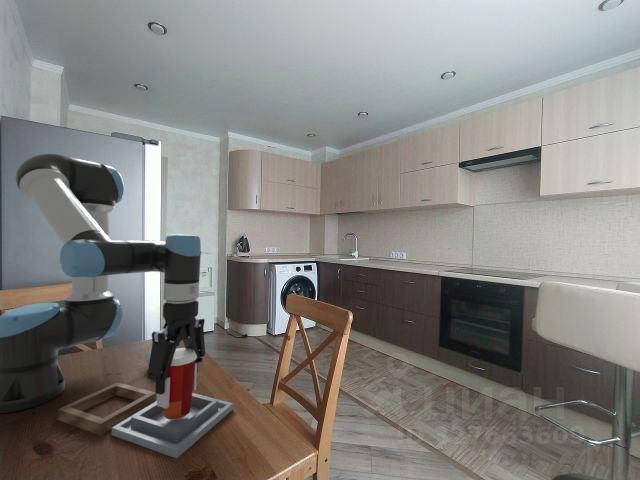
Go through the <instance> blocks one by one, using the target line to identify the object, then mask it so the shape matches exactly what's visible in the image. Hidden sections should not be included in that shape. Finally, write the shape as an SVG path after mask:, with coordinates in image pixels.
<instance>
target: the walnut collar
mask: <svg viewBox="0 0 640 480" xmlns="http://www.w3.org/2000/svg"><path fill="white" fill-rule="evenodd" d="M114 396H118V397H121V398H124V399H129V400H131V401H132V402H130V403H129V404H127V405H125V406H123V407H121V408H120V409H118V410H116V411H113V413H112V412H111V413H110V414H109V415H107V416H105V417H100V416H97V415H94V414H91V413H88V412H85V411H86V410H88V409H91V408H92V407H94V406H97V405H98V404H101V403H103V402H104V401H106V400H108V399H111V398H112V397H114ZM156 401H157V394H156V392H154V391H151V390H147V389H144V388H140V387H137V386H133V385H129V384H126V383H121V382H118V381H117V382H115V383H113V384H110V385H109V386H107V387H104V388H102V389H100V390H98V391H95V392H93V393H90V394H89V395H86V396H84V397H82V398H79V399H77V400H76V401H72V402H71V403H68V404H67V405H64V406H62V407H59V408H58V413H57V421H60V422H61V423H62V422H63V423H65V424H68V425H70V426H74V427H75V428H79V429H81V430H84V431H87V432H90V433H92V434H95V435H98V436H103V435H104V434H105V433H107V432H109V431H111V430H112V427H114V426H115V425H117V424H119V423H121V422H122V421H124V420H126V419H127V418H129V417H131V416H132V415H134V414H136V413H137V412H139V411H141V410H142V409H144V408H146V407H148V406H149V405H151V404H153V403H154V402H156Z"/></svg>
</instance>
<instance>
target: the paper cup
mask: <svg viewBox="0 0 640 480" xmlns="http://www.w3.org/2000/svg"><path fill="white" fill-rule="evenodd" d="M196 358H197V355H196V354H195V351H194V350H192V349H189V348H185V347H180V348H178V347H177V348H176V350H175V353H174V356H173V360H172V363H171V366H170V369H169V372H168V375H167V377H170V394H169V407H168V408H164V416H165V418H167V419H172V420H173V419H179V418H182V417H184V416H186V415H187V414H188V413H189V412H190V408H191V400H192V393H193V391H194V390H193V382H194V369H195V360H196Z"/></svg>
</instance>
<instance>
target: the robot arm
mask: <svg viewBox="0 0 640 480" xmlns="http://www.w3.org/2000/svg"><path fill="white" fill-rule="evenodd" d="M15 182H16V186H17V188H18V189H19V191H20V192H21V194H22V195H23V197H25V198H27V199H28V200H30V201H32V202H34V204H35V205H36V207H37V208H38V210H39V211H40V212H41V213H42V215H43V217H44V218H45V219H46V221H47V222H48V224H49V225H50V227H51V228H52V229H53V231H54V232H55V234H56V235H57V237H58V238H59V240H60V241H61V243H62V244H63V245H62V247H61V249H60V254H59V262H60V265H61V270H62V272H63V273H64V274H65V275H67V277H71V293H70V294H68V296H67V297H65V298H64V305H63V306H61V305H60V304H59V303H58V302H42V303H32V304H27V305H24V306H19V307H16V308H13V309H11V310H8V311H6V312H4V313H2V314H1V315H0V414H7V413H13V412H18V411H22V410H23V411H24V410H27V409H31V408H33V407H37V406H39V405H40V406H41V405H42V404H44V403H47V402H49V401H52V400H53V399H55V398H58V396H60V395H61V394H62V393H63V392H64V391H65V389H66V379H65V376H64V374H63V372H62V369H61V367H60V364H59V362H58V356H59V355H58V353H59V351H60V350H63V349H68V348H71V347H74V346H80V345H84V344H86V343H91V342H98V341H100V340H103V339H106V338H109V337H112V336H113V335H114V334H116V332H117V331H118V330H119V328H120V326H121V324H122V320H123V307H122V305H121V302H120V301H119V300H118V299H116V298H114V297H115V295H114V293H112V292H111V291H110V290H109V276H112V275H113V276H114V275H122V274H123V275H125V274H126V275H127V274H138V273H151V272H153V273H154V272H156V273H164V275H163V276H164V277H163V278H164V279H163V281H164V282H163V300H164V302H163V305H162V307H163V308H162V318H163V319H164V325H163V327H162V329H161V330H159V331H157V330H155V331H152V332H151V340H152V343H151V344H152V345H151V348H152V349H151V348H150V349H151V355H150V362H149V366H148V369H147V375H146V378H147V379H150V380H154V381H155V393H156V401H157V406H159V407H162V408H168V407H169V394H170V377H167V375H168V372H169V369H170V366H171V363H172V360H173V356H174V353H175V350H176V349H177V348H178V347H179V346H180V343H181V342H183V344H184V348H189V349H192V350H194V351H195V354H196V355H197V358H196V360H195V369H194V382H193V391H196V390H197V385H198V384H197V383H198V382H197V380H198V379H197V378H198V373H199V363H202V362H203V359H204V358H202V357H205V356H206V347H205V346H206V345H205V334H204V333H205V331H204V328H205V327H204V326H205V318H201V317H197V316H199V300H198V299H199V294H200V277H201V276H200V273H201V257H202V249H201V245H202V243H201V238H200V236H199V235H196V234H175V233H174V234H171V233H170V234H168V235H166V238H165V241H158V240H153V239H152V240H148V239H147V240H112V239H111V238H110V237H109V235H110V234H109V233H110V232H109V231H110V230H109V229H110V228H109V227H110V226H109V225H110V217H109V216H110V213H111V212H112V211H113V210H114V209H116V204H118V203H120V202H121V201H122V200H123V196H124V194H125V193H124V192H125V184H124V179H123V177H122V175H121V173H120V172H119V171H118V170H117V169H116V168H114V167H113V166H110V165H107V164H103V163H100V162H95V161H89V160H84V159H80V158H77V157H75V158H74V157H70V156H66V155H63V154H62V155H61V154H57V153H43V154H42V153H41V154H37V155H33V156H32V157H29V158H27V159H26V160H25V161H23V162H22V163H21V164H20V165H19V166H18V168H17V170H16V173H15ZM161 371H162V373H161Z"/></svg>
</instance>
